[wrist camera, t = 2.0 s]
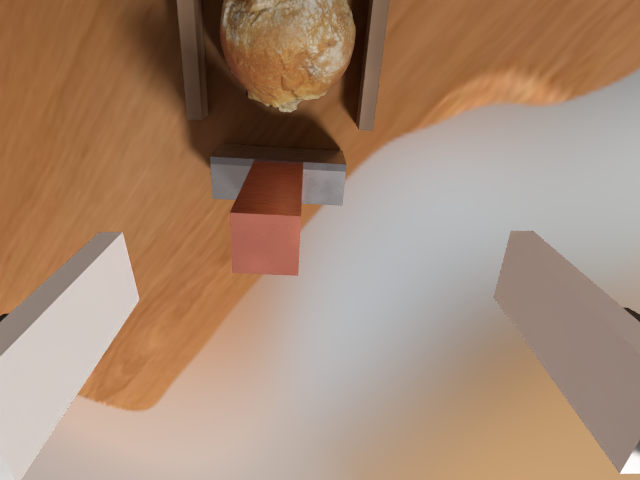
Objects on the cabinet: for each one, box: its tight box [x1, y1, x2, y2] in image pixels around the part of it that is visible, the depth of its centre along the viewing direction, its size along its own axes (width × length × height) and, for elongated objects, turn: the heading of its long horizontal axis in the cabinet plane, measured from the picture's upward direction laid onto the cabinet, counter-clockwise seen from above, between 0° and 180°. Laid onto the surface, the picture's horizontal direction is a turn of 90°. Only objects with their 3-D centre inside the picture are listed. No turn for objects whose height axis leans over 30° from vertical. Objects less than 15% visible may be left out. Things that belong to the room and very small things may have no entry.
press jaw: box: [210, 144, 346, 275], centre depth 29 cm, size 11×4×15 cm, turn 86°
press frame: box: [177, 0, 390, 131], centre depth 28 cm, size 15×14×8 cm
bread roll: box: [220, 0, 356, 112], centre depth 28 cm, size 10×10×8 cm
